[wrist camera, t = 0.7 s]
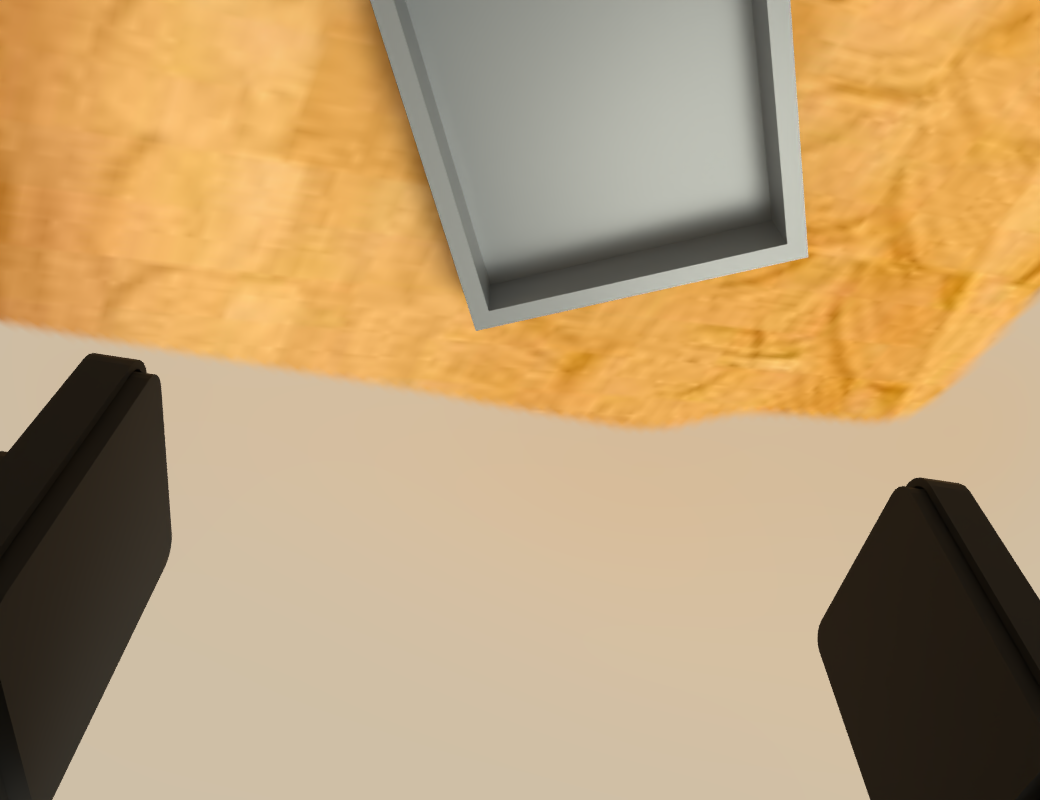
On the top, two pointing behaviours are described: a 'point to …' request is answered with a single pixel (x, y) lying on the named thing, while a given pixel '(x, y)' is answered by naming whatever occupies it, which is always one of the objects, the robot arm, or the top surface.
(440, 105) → the bin
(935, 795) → the robot arm
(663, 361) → the top surface
